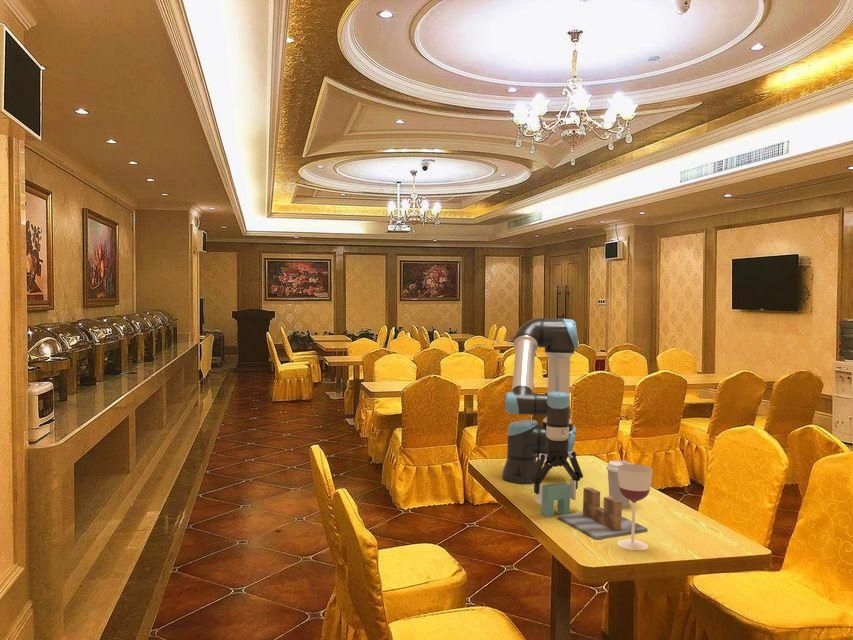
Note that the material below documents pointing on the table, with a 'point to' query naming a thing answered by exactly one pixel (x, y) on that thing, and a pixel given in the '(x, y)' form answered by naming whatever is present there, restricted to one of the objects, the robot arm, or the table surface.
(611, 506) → the joint base
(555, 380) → the robot arm
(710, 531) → the table surface
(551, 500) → the green arch block
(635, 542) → the wineglass
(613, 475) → the coffee cup
